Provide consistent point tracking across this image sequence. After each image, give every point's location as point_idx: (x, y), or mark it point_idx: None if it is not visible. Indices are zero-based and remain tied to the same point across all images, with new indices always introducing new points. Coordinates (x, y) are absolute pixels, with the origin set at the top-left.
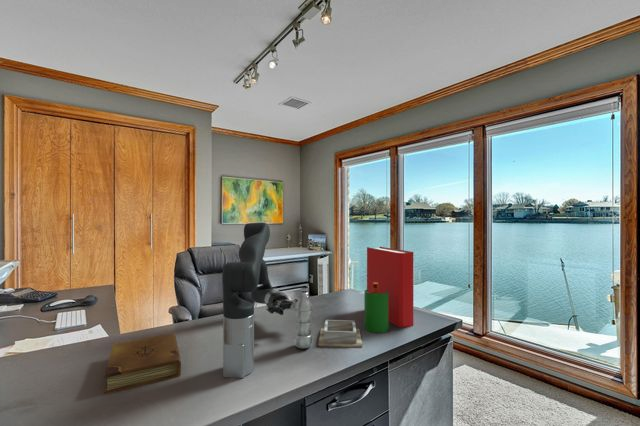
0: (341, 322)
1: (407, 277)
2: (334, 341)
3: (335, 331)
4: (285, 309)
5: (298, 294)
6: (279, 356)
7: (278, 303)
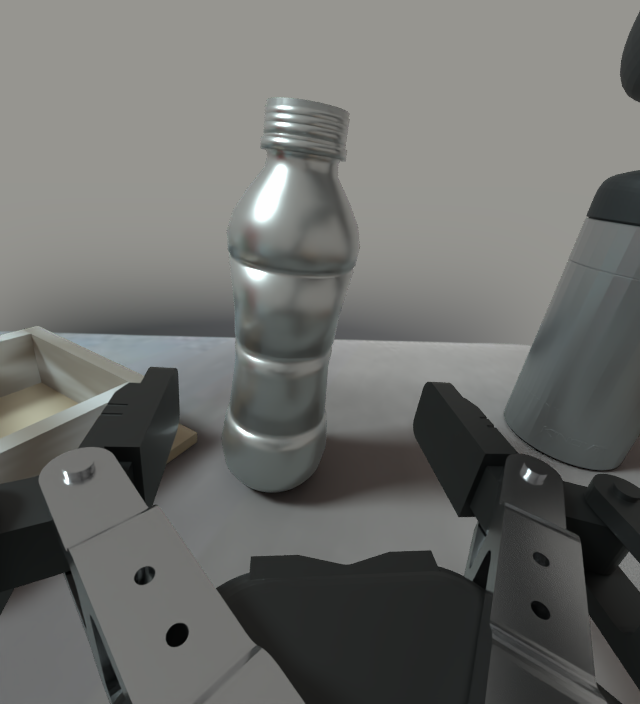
0: None
1: None
2: None
3: (101, 361)
4: None
5: (345, 136)
6: (409, 446)
7: (537, 531)
